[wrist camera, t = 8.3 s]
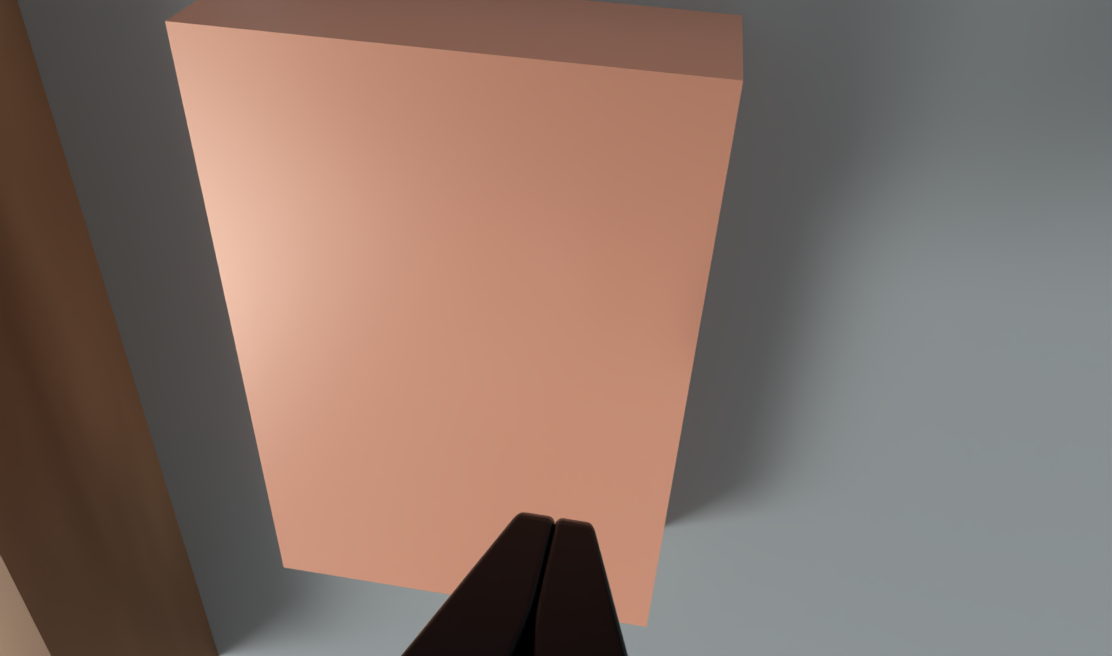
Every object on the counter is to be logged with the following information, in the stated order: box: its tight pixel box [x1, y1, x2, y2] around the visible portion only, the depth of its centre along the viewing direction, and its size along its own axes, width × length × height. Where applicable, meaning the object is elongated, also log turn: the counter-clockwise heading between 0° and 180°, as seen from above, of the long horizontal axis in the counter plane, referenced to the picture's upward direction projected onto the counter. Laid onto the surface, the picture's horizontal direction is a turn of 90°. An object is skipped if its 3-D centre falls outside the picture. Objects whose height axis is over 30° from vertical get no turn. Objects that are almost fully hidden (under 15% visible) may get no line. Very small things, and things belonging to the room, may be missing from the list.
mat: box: [17, 0, 1112, 656], centre depth 13 cm, size 18×22×1 cm
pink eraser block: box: [165, 0, 743, 627], centre depth 13 cm, size 6×9×2 cm, turn 177°
